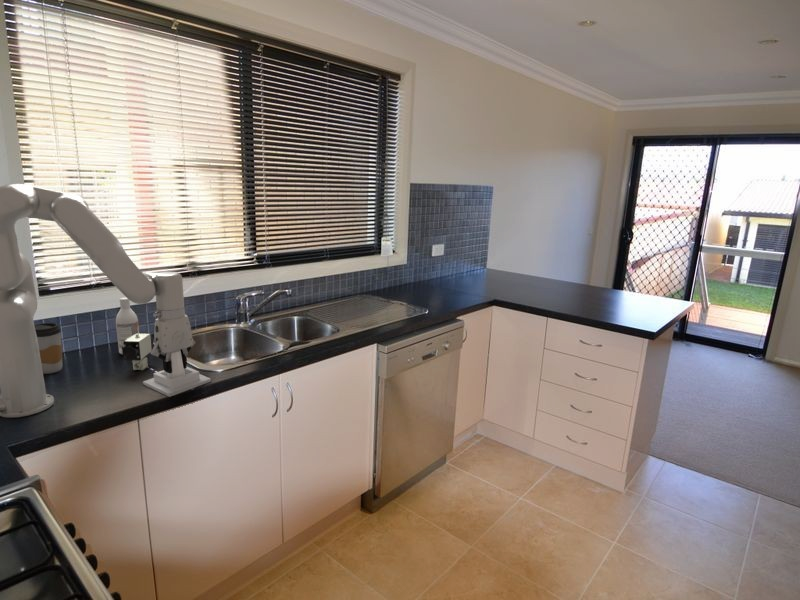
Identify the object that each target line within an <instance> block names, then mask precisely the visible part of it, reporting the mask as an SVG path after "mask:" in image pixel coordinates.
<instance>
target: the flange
mask: <svg viewBox="0 0 800 600" xmlns="http://www.w3.org/2000/svg"><path fill="white" fill-rule="evenodd" d="M184 371H185V375H183V376H180V377H177V378H174V379H171V378H169V377H167V372H165V371H164V369H163V370H160V371H156V372H154V373H153V377H152V378H149V379H145V380H143V381H142V385H144V386H146V387H147V388H149V389H152V390H153V391H156V392H158V393H160V394H163V396H167V397H169V398H171V397H172V396H176V395H179V394H180V393H185V392H186V391H189V390H191V389H194V388H196V387H200V386H202V385H206V384H208V383H210V382H211V380H212V379H211V378H210V377H209V376H208V377H207V376H205V375H203V374H201V373H200V371H199V370H196V369H194V368H192V367H189V366H187V368H185V369H184Z"/></svg>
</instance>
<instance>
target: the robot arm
mask: <svg viewBox="0 0 800 600" xmlns="http://www.w3.org/2000/svg"><path fill="white" fill-rule="evenodd" d="M25 218H32V219H36V220H37V219H38V220H42V221H43V220H44V221H48V222H55V224H56V225H58V227H59V228H60V229H62V231H64V232H65V234H66V235H67V236H68V237H70V239H71V240H73V242H74V243H75V244H76V245H77V246H78V247H79V248H80V249H81V250H82V252H84V253H85V254H86V255H87V257H88V258H90V260H91V261H92V262H93V264H94V265H95V266H96V267H97V268H98V269H99V270H100V271H101V272H102V273H103V274H104V275H105V276H106V278H107V279H108V280H109V281H110V282H111V283H112V285H114V286H115V288H116V289H118V290H119V291H120V292H121V294H122V295H123V296H124V297H127V298H128V299H129V302H132V303H134V304H137V305H145V304H147V303H150V302H151V301H152V300H153V299H154V298H155V303H156V311H155V312H153V314H152V316H153V317H154V318H155V321H154V333H153V334H154V335H153V343H154V346H152V351H151V352H150V355H152V356H154V357H157V358H159V359H160V360H162V366H163V367H162V369H163V370H164V371H165V372H167V373H172V363H171V361H170V360H169V358H170V352H174V351H177V350H181V355H182V361H183V367H184V369H185V368H187V367H188V366H187V365H188V362H187V361H188V360H187V357H188V355H189V352H190V350H191V348H193V347H194V346H195V344H196V341H195V340H194V338H193V332H192V326H191V323H190V319H189V316H188V315H187V314H186V311H185V297H184V285H183V276H182V274H181V273H180V272H178V271H162V272H161V271H160V272H146V271H141V269H139V267H138V266H137V265H136V264H135V262H134V261H133V260H132V259H131V258H130V257H129V255H128V254H127V252H126V251H125V249H124V247H123V245H122V243H121V242H120V241H119V239H118V238H117V237H116V236H115V234H113V232H111V230H110V229H109V228H108V227H107V226H106V225H105V224H104V223H103V222H102V220H100V219H99V218H98V216H97V215H96V214H95V213H94V212H93V211H92V209H90V207H89V205H88V203H87V201H86V200H85V199H84V198H83V197H81V196H79V195H77V194H73V193H69V192H62V191H57V190H53V189H47V188H43V187H38V186H32V185H28V184H24V183H11V184H9V183H8V184H5V185H1V186H0V417H3V418H10V419H12V418H22V417H28V416H32V415H35V414H38V413H41V412H43V411H45V410H47V409H49V408H50V407H52V405H53V404H54V403H55V398H54V396H53V395H51V394H48V393H47V390H46V383H45V379H44V374H43V371H42V364H41V358H40V352H39V346H38V340H37V335H36V331H35V327H34V325H35V321H34V320H35V319H34V316H35V314H36V312H37V309H38V297H37V293H36V288H35V283H34V277H33V271H32V266H31V264H30V261H29V260H28V258H27V257H26V255H24V254H23V253H21V252H20V249H19V243H18V237H17V233H16V228H15V225H16V223H17V221H19V220H21V219H25ZM159 351H161V352H159Z"/></svg>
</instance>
